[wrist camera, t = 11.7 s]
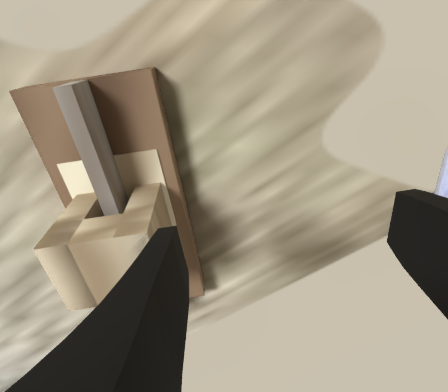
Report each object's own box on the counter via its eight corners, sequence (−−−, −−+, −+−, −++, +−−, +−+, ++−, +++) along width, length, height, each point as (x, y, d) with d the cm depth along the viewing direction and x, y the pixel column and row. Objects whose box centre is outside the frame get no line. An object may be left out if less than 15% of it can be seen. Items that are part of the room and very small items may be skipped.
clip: (160, 182, 17) (146, 232, 12) (174, 236, 19) (167, 296, 14) (76, 194, 17) (32, 249, 12) (99, 247, 19) (69, 310, 14)
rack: (154, 67, 15) (143, 74, 12) (204, 280, 23) (204, 319, 20) (25, 86, 15) (-20, 98, 12) (118, 293, 23) (106, 334, 20)
